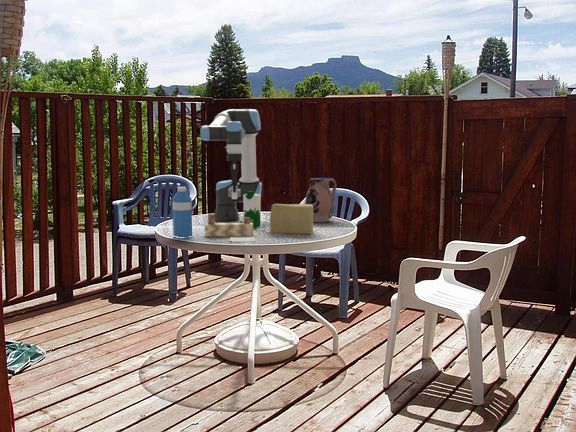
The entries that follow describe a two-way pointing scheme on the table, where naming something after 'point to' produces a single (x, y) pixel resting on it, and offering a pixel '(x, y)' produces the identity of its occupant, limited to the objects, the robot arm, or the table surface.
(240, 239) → the mat
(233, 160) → the robot arm
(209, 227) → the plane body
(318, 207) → the ceramic pitcher
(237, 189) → the lever cap
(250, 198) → the milk carton
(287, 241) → the table surface
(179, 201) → the water bottle
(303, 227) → the cheese
